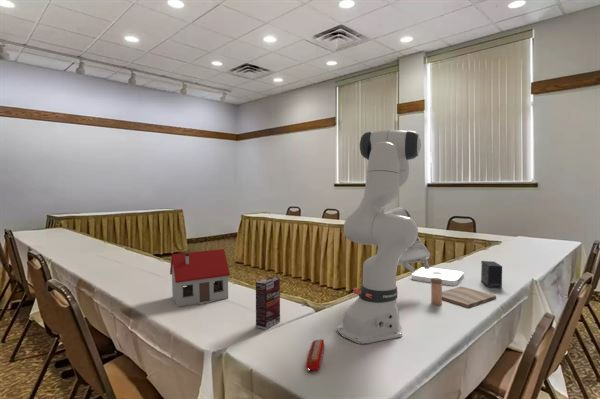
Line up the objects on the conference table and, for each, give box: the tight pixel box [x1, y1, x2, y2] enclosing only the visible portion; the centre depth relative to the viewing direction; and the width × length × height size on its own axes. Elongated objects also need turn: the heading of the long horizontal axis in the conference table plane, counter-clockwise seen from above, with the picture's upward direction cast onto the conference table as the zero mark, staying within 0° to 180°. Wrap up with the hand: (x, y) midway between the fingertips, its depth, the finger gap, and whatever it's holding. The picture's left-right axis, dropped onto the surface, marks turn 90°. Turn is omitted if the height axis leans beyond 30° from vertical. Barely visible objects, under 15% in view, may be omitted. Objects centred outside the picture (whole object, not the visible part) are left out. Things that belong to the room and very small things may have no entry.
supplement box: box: [255, 276, 281, 331], centre depth 120 cm, size 9×5×16 cm, turn 148°
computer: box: [411, 266, 465, 286], centre depth 177 cm, size 22×22×3 cm
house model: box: [169, 248, 231, 308], centre depth 150 cm, size 25×20×21 cm
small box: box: [480, 260, 503, 289], centre depth 163 cm, size 11×6×10 cm, turn 168°
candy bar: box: [306, 339, 325, 371], centre depth 96 cm, size 16×4×3 cm, turn 170°
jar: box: [430, 278, 443, 306], centre depth 139 cm, size 4×4×10 cm
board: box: [442, 286, 497, 308], centre depth 145 cm, size 20×16×1 cm
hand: (420, 269), depth 145 cm, fingers open, 8 cm apart
